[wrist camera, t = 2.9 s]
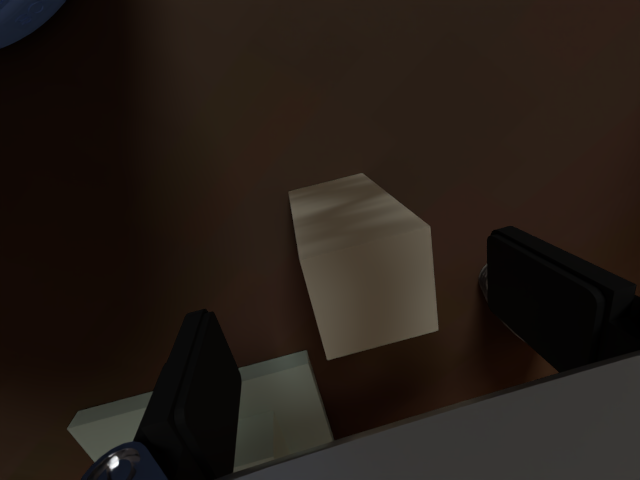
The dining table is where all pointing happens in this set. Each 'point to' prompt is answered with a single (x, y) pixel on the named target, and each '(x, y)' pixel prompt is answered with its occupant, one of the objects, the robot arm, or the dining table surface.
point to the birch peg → (363, 265)
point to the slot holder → (253, 423)
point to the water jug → (24, 17)
